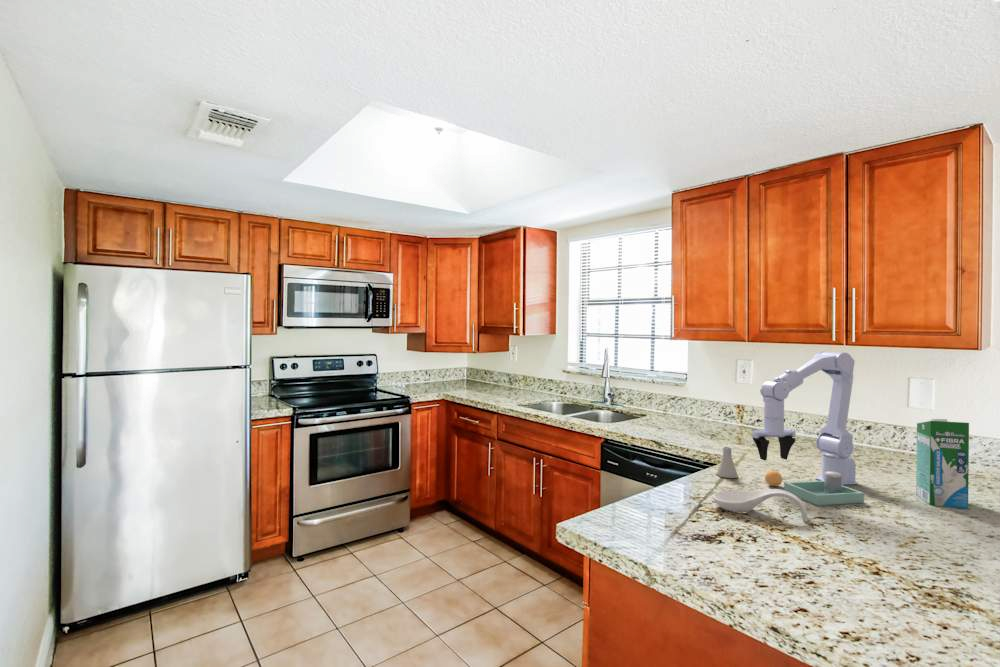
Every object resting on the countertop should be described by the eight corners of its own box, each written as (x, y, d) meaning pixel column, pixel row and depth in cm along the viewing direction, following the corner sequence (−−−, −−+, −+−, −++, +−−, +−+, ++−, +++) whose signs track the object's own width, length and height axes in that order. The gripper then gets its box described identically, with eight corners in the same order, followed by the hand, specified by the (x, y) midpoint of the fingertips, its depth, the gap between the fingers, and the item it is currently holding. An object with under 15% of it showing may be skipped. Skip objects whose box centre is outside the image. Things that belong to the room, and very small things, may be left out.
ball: (774, 483, 168) (774, 468, 168) (785, 488, 163) (785, 472, 163) (761, 484, 167) (761, 469, 167) (772, 488, 162) (772, 473, 162)
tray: (828, 489, 162) (828, 480, 162) (863, 503, 149) (863, 492, 149) (784, 491, 159) (784, 482, 159) (816, 505, 146) (817, 495, 146)
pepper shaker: (833, 493, 157) (834, 470, 157) (845, 497, 152) (845, 474, 153) (821, 493, 156) (821, 471, 156) (831, 498, 152) (832, 474, 152)
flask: (740, 479, 172) (741, 450, 172) (718, 478, 173) (718, 449, 173) (735, 473, 179) (735, 445, 179) (713, 472, 180) (714, 444, 180)
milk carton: (952, 499, 153) (952, 417, 153) (968, 509, 144) (969, 422, 144) (916, 495, 156) (916, 415, 156) (930, 505, 147) (930, 420, 147)
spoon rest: (710, 512, 140) (711, 487, 140) (713, 500, 151) (713, 476, 151) (809, 528, 130) (809, 500, 130) (805, 513, 140) (805, 488, 140)
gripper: (784, 415, 170) (784, 455, 170) (746, 416, 167) (745, 456, 167) (800, 419, 163) (800, 460, 163) (760, 420, 161) (760, 462, 161)
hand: (773, 459), depth 165 cm, fingers open, 7 cm apart
